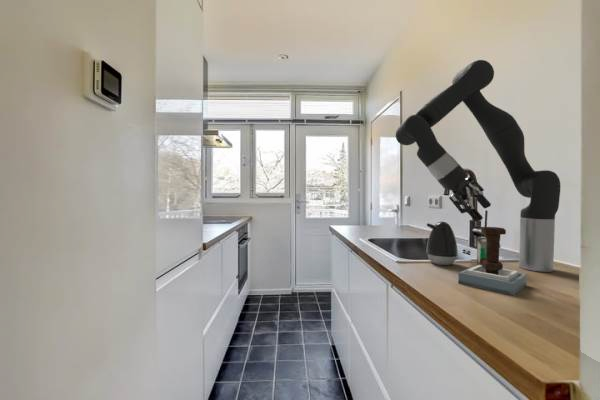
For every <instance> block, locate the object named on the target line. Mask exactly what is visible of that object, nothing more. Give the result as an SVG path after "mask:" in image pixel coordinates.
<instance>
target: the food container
mask: <svg viewBox="0 0 600 400" xmlns="http://www.w3.org/2000/svg"><path fill="white" fill-rule="evenodd" d="M476 244H477V245H476V248H477V249H476V266H478V265H482V261H484V260H486V252H487V251H486V246H487V244H486V237H482V236H477V239H476ZM500 248H501V245H500V246H499V249H500Z"/></svg>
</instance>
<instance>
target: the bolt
mask: <svg viewBox="0 0 600 400" xmlns="http://www.w3.org/2000/svg"><path fill="white" fill-rule="evenodd" d="M480 228H481V229H480V231H481V232H480V233H481V234H482V233H483V234H485V238H486V244H487V246H486V251H487V252H486V260H484V261H482V267H483V268H485V269H486V272H485V273H490V274H495V275H499V273H498V270H502V269H504V264H503V263H502V262H500V248H499V246H501V235H506V233H507V231H506V230H507V229H505V228H504V227H498V226H497V227H496V226H482V227H480Z"/></svg>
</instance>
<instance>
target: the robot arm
mask: <svg viewBox="0 0 600 400" xmlns="http://www.w3.org/2000/svg"><path fill="white" fill-rule="evenodd" d="M494 69H495V68H494V67H493V65H492V64H491V63H490V62H489V61H487V60H484V59H478V60H475V61H473V62H471V63H469V64H467V65H466V66H465V67H464V68H462V69H460V70H459V71H458V72H456V73H455V74H454V75H453V77H452V81H451V83H452V84H451V85H450V86H448V87H447V88H445V89H444V90H442V91H441V92H439V93H438V94H436V95H435V96H433V98H431V99H430V100H428V101H427V102H426V103H425V104H424V105H422V106H421V107H420V108H419V109H418V110H417V111H416V113H414V114H411V115H409V116H407V117H406V118H405V119H404V121H403V122H402V123H401V124H400V125H399V126H398V128H397V129H396V131H395V138H396V141H397V142H398V143H399V144H400V145H402V146H411V145H413V144H415V143H416V145H417V147H418V149H417V151H416V156H417V157H418V159H419V160H420V161H421V163H422V164H424V166H425V167H426V168H427V170H428V171H429V172H430V174H431V175H432V177H434V179H435V180H437V182H438V183H439V184H440V185H441V187H442V188H443V189H444V190H445V191H451V192H452V195H450V196H449V197H448V198H449V200H450V201H451V202H452V204H453V205H454V206H455V207H456V209H457V210H458V211H459V212H460V214H463V215H464V214H465V213H467V214H468V215H469V216H470V217H471V218H472V220H473V221H474V222H476V223H477V222H480V221H482V220H483V215H482V214H481V213H480V212H479V211H478V210H477V209H476V208H475V207H474V204H473V199H476V201H477V203H478V204H479V205H480V206H481V207H482V208H483V209H487V208H489V207H491V205H492V204H491V202H490V201H489V200H488V199H487V198H486V196H485V195H484V190H485V189H484V188H483V187H482V186H481V184H479V183H478V181H476V179H475V178H474V177H472V175H470V176H469V174H468V173H467V171H465V169H464V168H463V167H462V166H461V165H460V164H459V162H458V161H457V160H456V159H455V158H454V157H453V156H452V155H450V153H449V152H447V151H446V149H445V148H444V147H443V145H441V144H440V142H438V139H437V138H436V134H435V133H434V132H433V129H432V128H433V127H434V126H435V125H437V124H438V123H439V122H440V121H442V119H444V118H445V117H446V116H447V115H448V114H450V113H451V112H452V111H453V110H454V109H455V108H457V106H459V105H460V104H461V103H463V104H464V105H465V107H467V109H468V110H469V111H470V113H471V114H472V115H473V116H474V118H475V120H476V122H478V125H479V126H480V127H481V129H482V131H484V132H483V133H485V134H484V135H485V136H486V137H487V139H488V141H489V142H490V144H491V146H492V147H493V149H494V150H495V151H496V154H497V155H498V156H499V158H500V160H501V161H502V164H503V165H504V166H505V168H506V170H507V172H508V174H509V176H510V179H511V181H512V183H513V185H514V187H515V189H516V191H517V192H518V193H519V194H520V196H522V197H524V198H528V199H529V198H530V201H529V204H528V205H527V206H526V207H524V208H522V209H521V210H520V221H519V249H518V250H519V252H518V267H519V268H521V269H523V270H529V271H535V272H543V273H550V272H554V259H555V258H554V257H555V255H554V254H555V228H556V214H557V212H558V211H559V207H560V206H559V205H560V198H561V181H560V177H559V176H558V175H557V173H555V171H553V170H548V169H547V170H534V169H533V167H532V166H531V164H530V163H529V161H528V159H527V157H526V154H525V135H524V132H523V130H522V128H521V126H520V125H519V124H518V122H517V120H516V119H515V118H514V116H513V115H511V113H509V112H507V111H505V110H503V109H501V108H499V107H497V106H495V105H493V104H492V103H491V102H489V101H488V100H487V99H486V97H485V96H484V95H483V93H482V92H481V90H484V88H487V87H488V86H489V85H490V84H491V83H492V81H493V79H494V77H495V70H494Z"/></svg>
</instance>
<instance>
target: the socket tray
mask: <svg viewBox="0 0 600 400" xmlns="http://www.w3.org/2000/svg"><path fill="white" fill-rule="evenodd" d="M485 272H486V269H485V268H483V267H482V265H478V266H477V265H473V266H472V267H471V266H470V267H468V268H467V269H464V270H462V271H459V272H458V281H457V282H458V284H461V285H464V286H469V287H473V288H474V287H475V288H477V289H478V288H479V289H482V290H487V291H491V292H496V293H500V294H506V295H510V296H515V295H516V294H517V293H518V292H519V291H521V290H522V289H523V288H524V287H526V286H527V273H519V272H518V270H512V269H506V268H503V269H502V270H498V273H499V275H495V274H490V273H485Z"/></svg>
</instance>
